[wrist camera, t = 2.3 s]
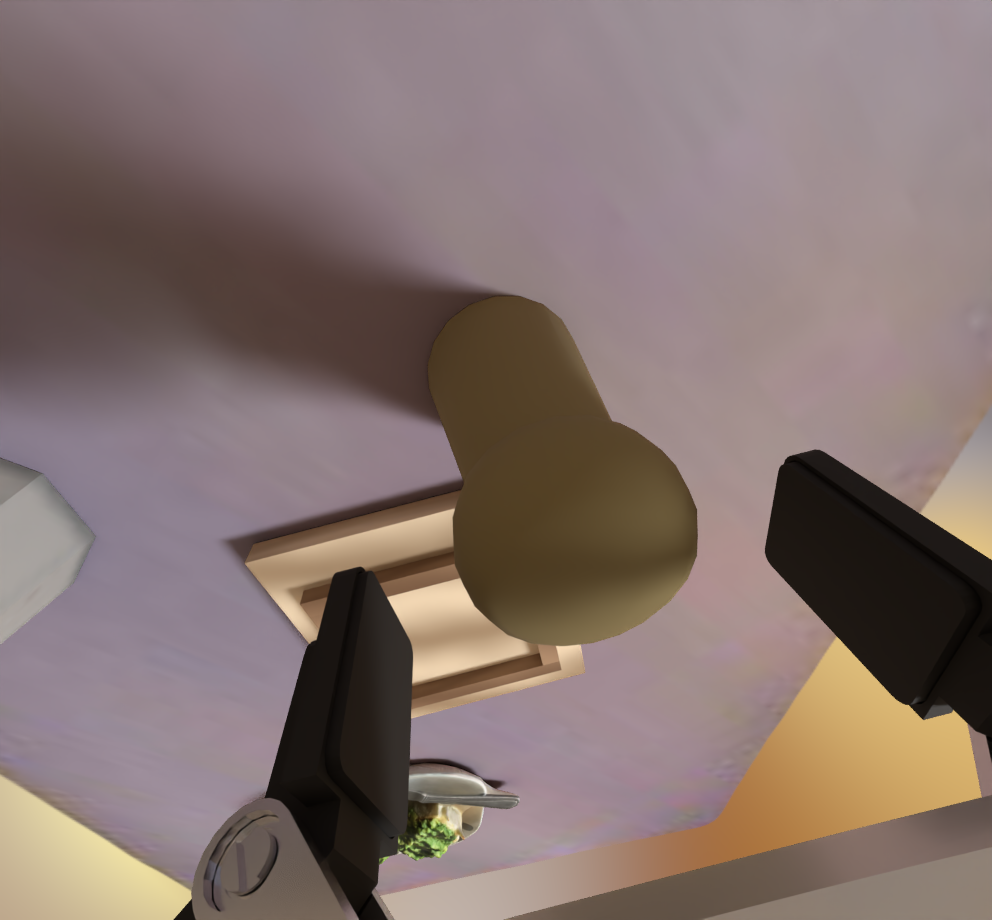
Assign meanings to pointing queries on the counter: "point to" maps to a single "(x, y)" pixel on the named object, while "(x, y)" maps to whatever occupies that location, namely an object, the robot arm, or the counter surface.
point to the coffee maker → (35, 545)
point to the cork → (552, 483)
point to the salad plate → (445, 808)
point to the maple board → (411, 601)
